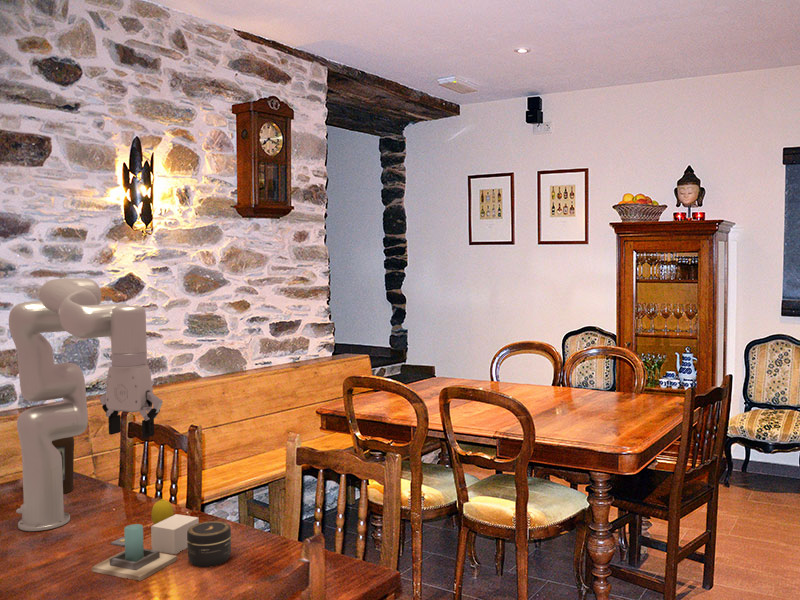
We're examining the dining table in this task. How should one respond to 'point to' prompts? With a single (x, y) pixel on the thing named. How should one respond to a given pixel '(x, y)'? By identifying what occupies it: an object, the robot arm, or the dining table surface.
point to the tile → (119, 542)
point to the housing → (172, 533)
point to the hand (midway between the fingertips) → (131, 435)
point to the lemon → (161, 511)
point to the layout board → (135, 565)
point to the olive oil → (66, 461)
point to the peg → (134, 542)
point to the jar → (209, 543)
